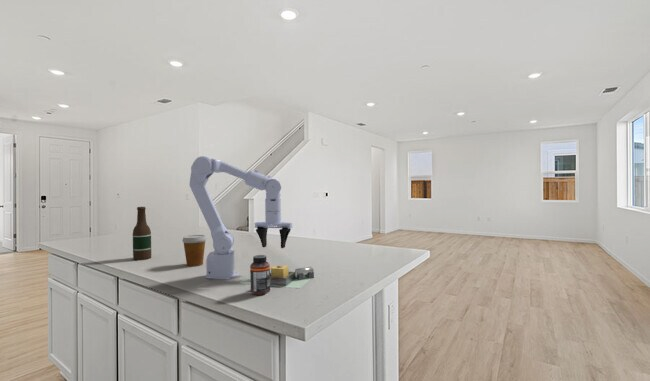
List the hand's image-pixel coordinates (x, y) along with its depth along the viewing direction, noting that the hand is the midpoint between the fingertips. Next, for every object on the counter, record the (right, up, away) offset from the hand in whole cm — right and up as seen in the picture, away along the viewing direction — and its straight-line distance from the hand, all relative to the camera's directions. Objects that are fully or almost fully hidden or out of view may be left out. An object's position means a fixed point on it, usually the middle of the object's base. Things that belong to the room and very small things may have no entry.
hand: (273, 247), depth 122 cm
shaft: (+12, -10, -7) cm, 17 cm away
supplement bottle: (-1, -11, -21) cm, 24 cm away
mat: (+3, -10, -8) cm, 13 cm away
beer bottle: (-65, -10, +29) cm, 72 cm away
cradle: (+4, -10, -11) cm, 16 cm away
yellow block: (+4, -10, -12) cm, 16 cm away
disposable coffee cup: (-36, -10, +16) cm, 41 cm away
